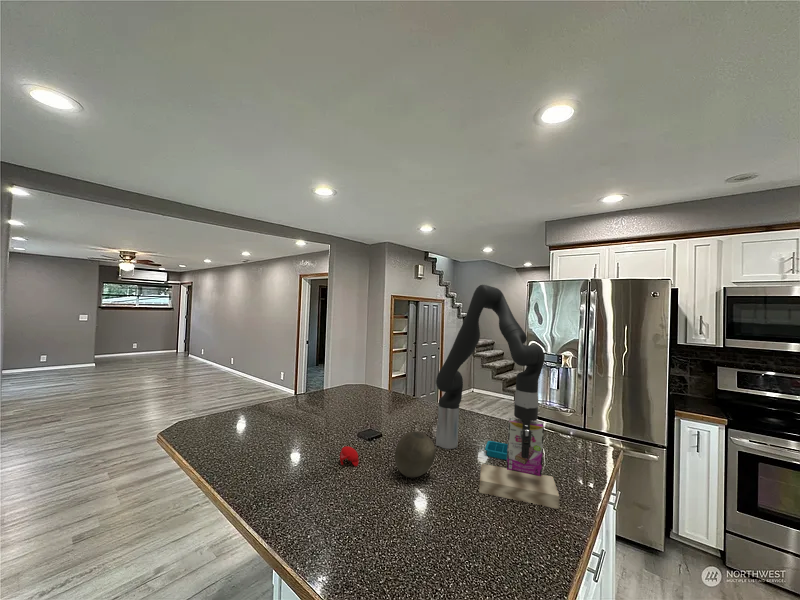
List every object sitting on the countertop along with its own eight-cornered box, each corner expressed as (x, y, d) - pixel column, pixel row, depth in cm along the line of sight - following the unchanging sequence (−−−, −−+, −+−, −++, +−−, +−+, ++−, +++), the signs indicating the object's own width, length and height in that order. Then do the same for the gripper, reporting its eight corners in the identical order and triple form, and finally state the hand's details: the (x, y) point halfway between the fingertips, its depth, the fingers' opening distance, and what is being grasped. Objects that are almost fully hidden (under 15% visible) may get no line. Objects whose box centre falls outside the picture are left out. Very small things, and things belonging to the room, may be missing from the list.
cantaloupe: (405, 489, 107) (408, 442, 108) (387, 469, 120) (389, 428, 120) (441, 481, 113) (443, 437, 114) (420, 463, 126) (422, 424, 127)
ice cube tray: (536, 467, 129) (536, 460, 129) (484, 456, 136) (484, 449, 137) (535, 456, 140) (536, 449, 140) (487, 447, 147) (487, 440, 147)
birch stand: (479, 492, 107) (479, 480, 108) (481, 474, 120) (481, 463, 120) (558, 509, 100) (559, 495, 101) (552, 488, 113) (552, 476, 113)
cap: (333, 456, 121) (344, 451, 119) (342, 445, 127) (352, 440, 124) (346, 473, 122) (357, 468, 119) (353, 461, 127) (364, 457, 124)
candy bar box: (506, 470, 109) (508, 421, 110) (506, 464, 114) (508, 416, 115) (542, 477, 106) (544, 426, 107) (541, 471, 110) (543, 422, 111)
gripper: (513, 397, 119) (511, 444, 118) (515, 407, 105) (513, 461, 104) (535, 400, 117) (533, 448, 116) (540, 411, 103) (538, 465, 102)
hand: (524, 454), depth 110 cm, fingers closed on candy bar box, 5 cm apart
